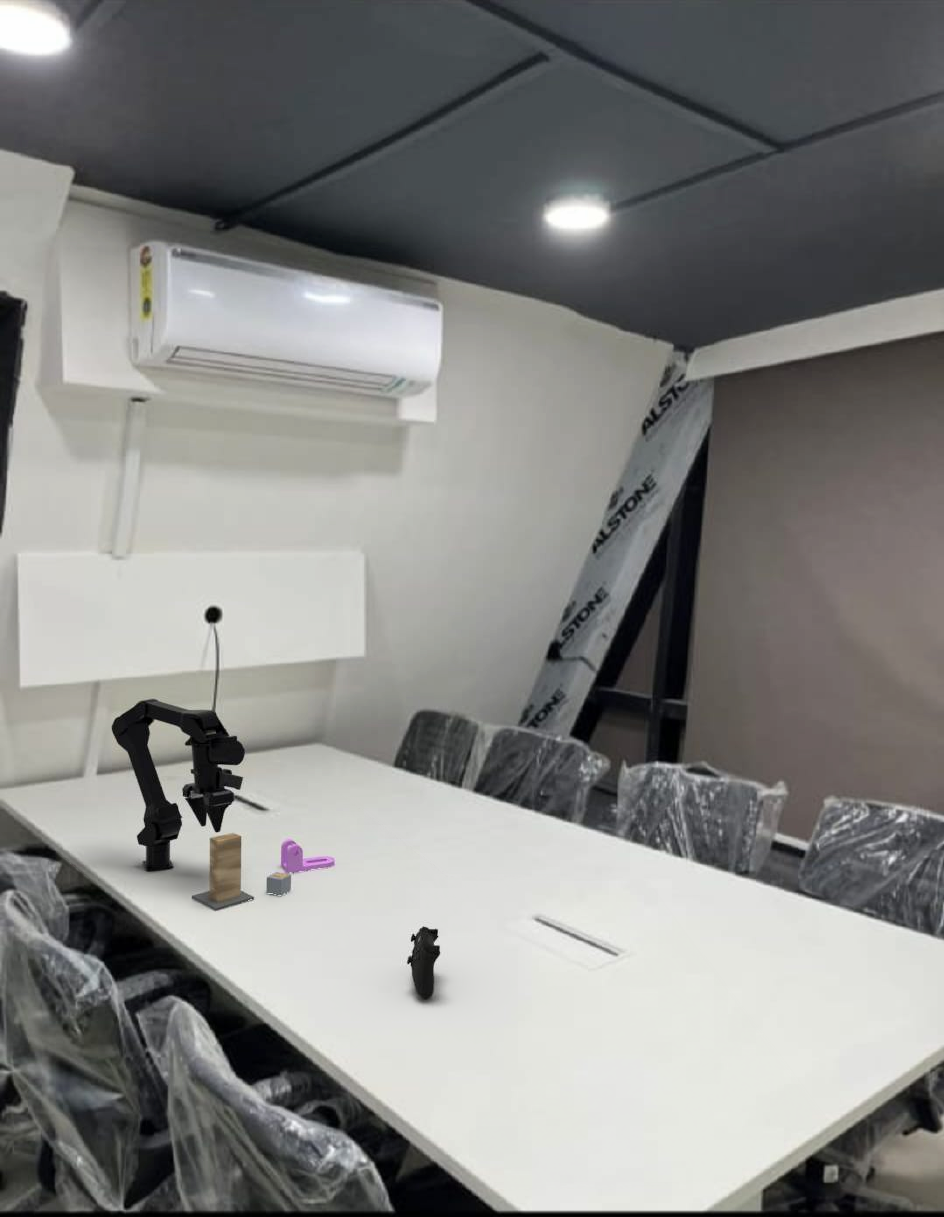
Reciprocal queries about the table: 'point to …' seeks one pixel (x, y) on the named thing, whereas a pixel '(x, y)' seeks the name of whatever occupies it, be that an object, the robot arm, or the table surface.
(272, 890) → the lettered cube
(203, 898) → the charcoal mat
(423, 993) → the gaming controller
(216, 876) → the wooden block
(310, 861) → the bracket
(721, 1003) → the table surface
